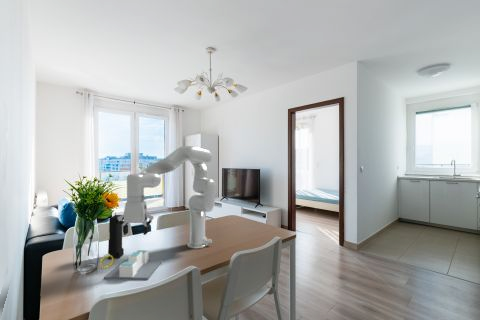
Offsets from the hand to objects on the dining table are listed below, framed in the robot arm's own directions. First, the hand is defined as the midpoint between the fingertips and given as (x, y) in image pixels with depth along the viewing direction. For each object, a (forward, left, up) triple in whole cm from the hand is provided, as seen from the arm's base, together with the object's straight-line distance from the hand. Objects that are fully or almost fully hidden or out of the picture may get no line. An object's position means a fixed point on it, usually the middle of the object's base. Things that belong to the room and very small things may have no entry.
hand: (135, 234), depth 112 cm
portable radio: (+18, -15, -18) cm, 30 cm away
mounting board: (0, 0, -18) cm, 18 cm away
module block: (0, 0, -16) cm, 16 cm away
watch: (+16, -3, -18) cm, 24 cm away
